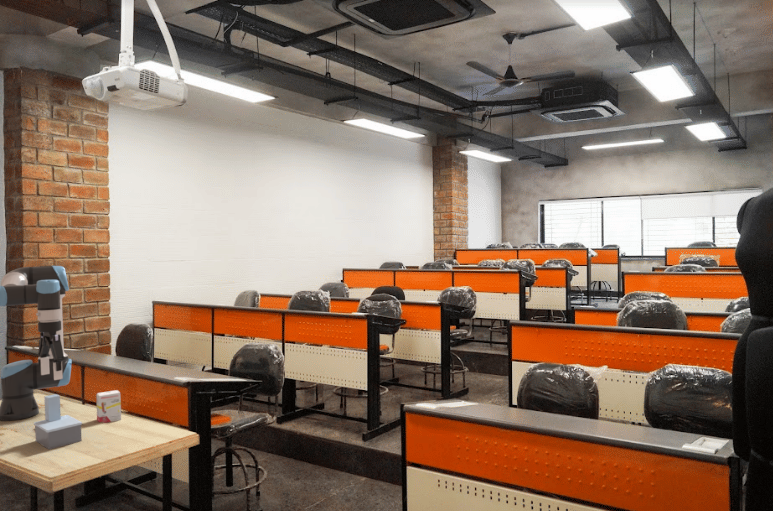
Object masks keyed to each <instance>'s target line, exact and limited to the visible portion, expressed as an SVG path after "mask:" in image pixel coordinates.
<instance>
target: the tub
mask: <svg viewBox="0 0 773 511" xmlns="http://www.w3.org/2000/svg"><path fill="white" fill-rule="evenodd" d="M34 426H35V425H34ZM34 429H35V430H34V431H35V435H34V436H35V442H36V443H37V444H40V445H41V446H42V447H44V448H46V449H47V450H52V449H56V448H61V447H64V446H68V445H71V444H77V443H81V442H82V441H83V440H82V438H83V437H82V424H81V425H77V426H73V427H69V428H65V429H61V430H57V431H52V432H48V433H47V432H46V431H44V430H42V429H40V428H39V427H37V426H35V427H34Z"/></svg>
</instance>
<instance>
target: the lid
mask: <svg viewBox="0 0 773 511" xmlns="http://www.w3.org/2000/svg"><path fill="white" fill-rule="evenodd" d="M43 398H44V418H45V419H43V420H39V421H34V422H33V425H34V426H37V427H39V428H40V429H42V430H44V431H46V432H47V433H48V432H52V431H57V430H61V429H65V428H69V427H73V426H77V425H81V426H82V425H83V422H82V421H80V420H78V419H76V418H75V417H73V416H71V415H68V414H65V415H61V396H60V395H59V394H57V393H54V394H50V395H45V396H44V397H43Z"/></svg>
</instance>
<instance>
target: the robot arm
mask: <svg viewBox="0 0 773 511" xmlns="http://www.w3.org/2000/svg"><path fill="white" fill-rule="evenodd" d="M68 291H70V288H69V283H68V277H67V273H66V268H65V267H64V266H62V265H44V266H43V265H42V266H41V265H39V266H23V267H19V268H15V269H13V270H11V271H8V272H7V273H6V274H4V275H3V277H2V279H1V281H0V307H9V306H20V305H36V306H37V312H36V313H35V315H36V316H37V321H39V322H37V331H38V332H39V343H38V344H39V345H38V352H37V355H38V358H37V362H33V360H32V359H23V360H18V361H14V362H11V363H8V364H5V365H3V366H2V367H1V369H0V381H1V402H0V421H2V422H3V421H7V422H8V421H18V420H22V419H27V418H31V417H34V416H37V415H38V414H39V412H40V407H39V405H38V402H37V400H36V398H35V395H34V390H42V389H49V388H54V387H55V388H58V387H63V386H67V385H68V384H69V383H70V381H71V372H72V362H73V360H72V359H71V358H69V354H68V353H66V352H65V348H64V347H65V346H64V345H65V344H64V322H63V321H64V319H63V298H64V297H66V292H68Z"/></svg>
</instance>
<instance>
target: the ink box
mask: <svg viewBox="0 0 773 511" xmlns="http://www.w3.org/2000/svg"><path fill="white" fill-rule="evenodd" d="M121 403H122V402H121V392H120V391H119V390H118V389H116V390H110V391H104V392H102V391H101V392H97V393H96V420H97V422H99V423H103V424H106V423H111V422H117V421H121V420H122V404H121Z"/></svg>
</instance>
